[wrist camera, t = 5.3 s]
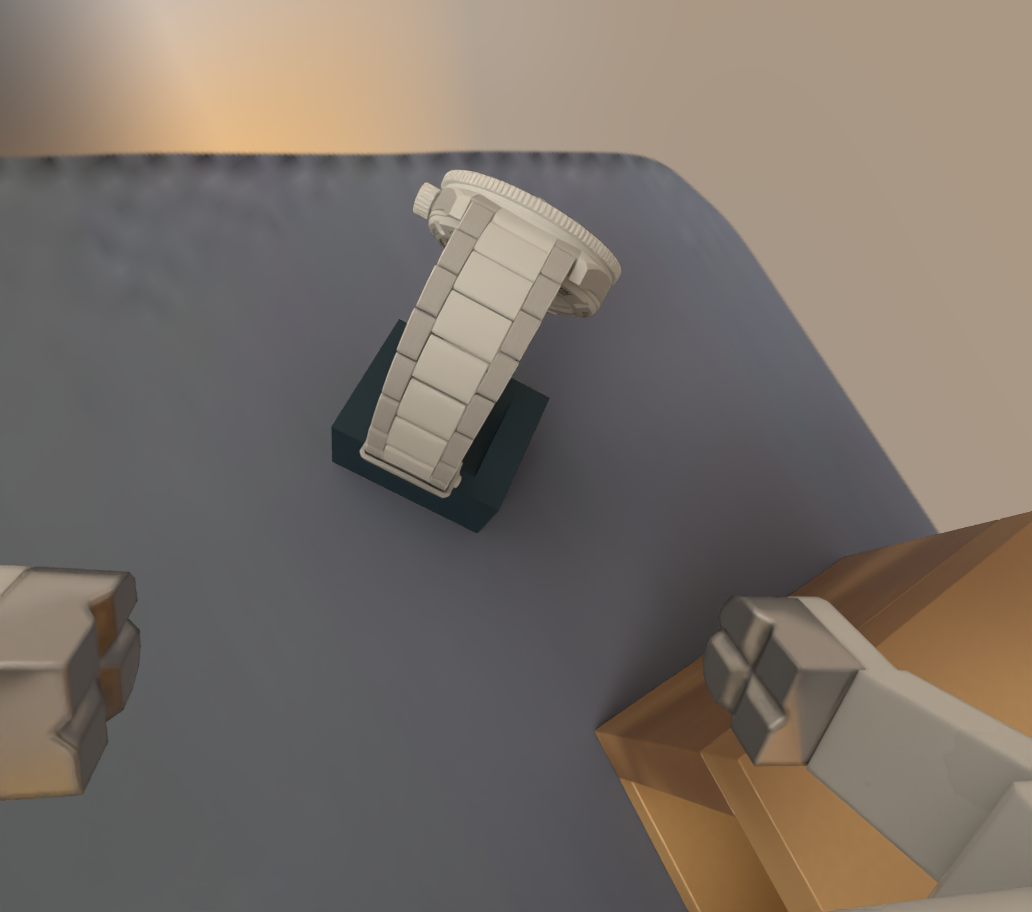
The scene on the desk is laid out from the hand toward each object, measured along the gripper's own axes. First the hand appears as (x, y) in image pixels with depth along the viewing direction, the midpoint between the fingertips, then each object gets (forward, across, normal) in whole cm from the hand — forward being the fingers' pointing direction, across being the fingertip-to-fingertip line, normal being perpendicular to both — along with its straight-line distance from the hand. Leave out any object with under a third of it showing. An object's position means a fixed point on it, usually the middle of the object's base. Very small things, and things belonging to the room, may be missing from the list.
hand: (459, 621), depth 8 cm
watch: (+14, -1, +3) cm, 14 cm away
